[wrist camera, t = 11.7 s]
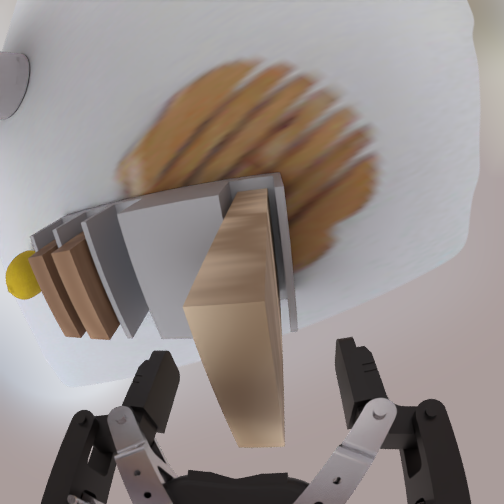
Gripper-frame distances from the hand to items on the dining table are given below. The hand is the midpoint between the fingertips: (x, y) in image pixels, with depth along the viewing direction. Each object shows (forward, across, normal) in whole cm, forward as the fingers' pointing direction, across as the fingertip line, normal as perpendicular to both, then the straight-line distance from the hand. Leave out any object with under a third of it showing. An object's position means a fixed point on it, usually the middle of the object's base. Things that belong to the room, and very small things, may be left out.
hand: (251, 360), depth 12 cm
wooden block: (+14, 0, 0) cm, 14 cm away
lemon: (+15, +28, -1) cm, 32 cm away
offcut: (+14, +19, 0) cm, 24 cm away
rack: (+15, +9, 0) cm, 18 cm away
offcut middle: (+14, +15, 0) cm, 21 cm away
